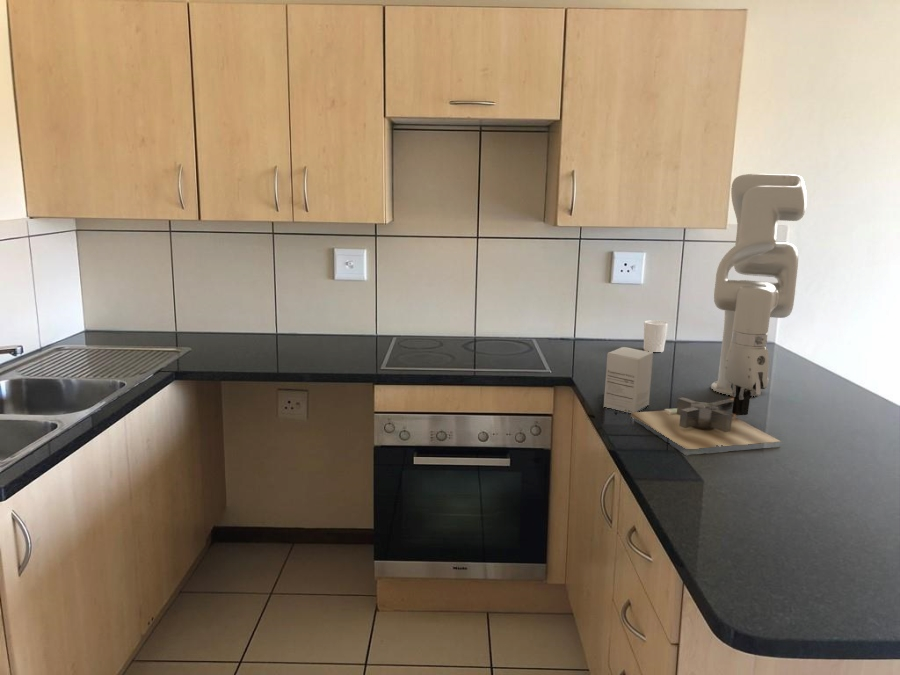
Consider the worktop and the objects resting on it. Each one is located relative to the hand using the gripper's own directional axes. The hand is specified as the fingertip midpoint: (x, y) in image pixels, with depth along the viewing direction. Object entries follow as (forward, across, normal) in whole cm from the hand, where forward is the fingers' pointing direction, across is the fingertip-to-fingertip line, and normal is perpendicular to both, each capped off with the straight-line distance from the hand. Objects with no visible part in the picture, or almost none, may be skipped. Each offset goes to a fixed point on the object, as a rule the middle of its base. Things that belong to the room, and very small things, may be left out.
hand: (739, 413), depth 165 cm
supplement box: (+4, +20, +18) cm, 28 cm away
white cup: (+3, +74, -22) cm, 77 cm away
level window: (+3, +10, +10) cm, 14 cm away
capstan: (+2, +1, +6) cm, 7 cm away
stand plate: (+4, 0, +10) cm, 11 cm away
